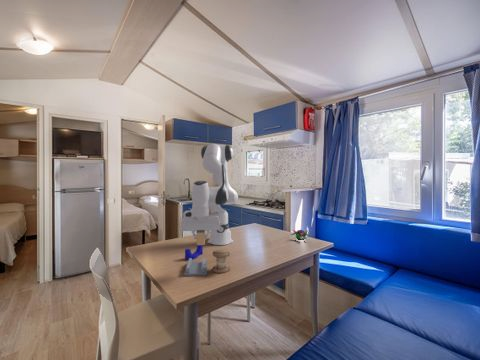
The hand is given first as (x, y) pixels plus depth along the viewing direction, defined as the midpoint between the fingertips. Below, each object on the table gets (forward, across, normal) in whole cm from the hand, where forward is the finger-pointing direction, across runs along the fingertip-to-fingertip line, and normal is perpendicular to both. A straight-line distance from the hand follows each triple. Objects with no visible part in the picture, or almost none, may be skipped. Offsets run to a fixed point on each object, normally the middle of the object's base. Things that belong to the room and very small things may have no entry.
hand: (200, 238), depth 118 cm
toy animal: (+18, -73, -44) cm, 87 cm away
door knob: (+17, -10, 0) cm, 20 cm away
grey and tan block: (+3, 0, 0) cm, 3 cm away
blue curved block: (+17, +5, -21) cm, 27 cm away
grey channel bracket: (+17, +2, -2) cm, 17 cm away
